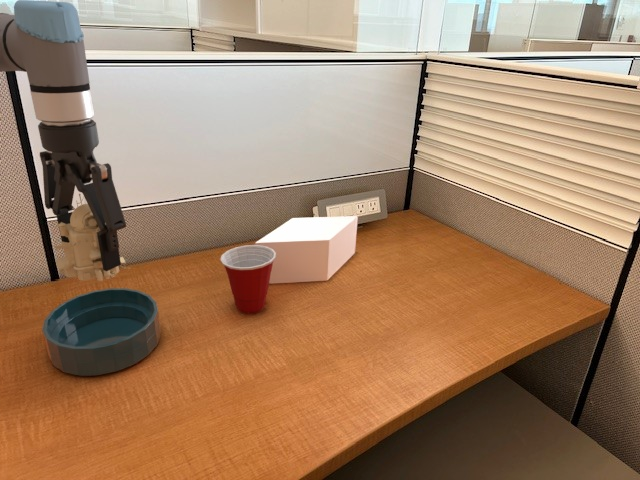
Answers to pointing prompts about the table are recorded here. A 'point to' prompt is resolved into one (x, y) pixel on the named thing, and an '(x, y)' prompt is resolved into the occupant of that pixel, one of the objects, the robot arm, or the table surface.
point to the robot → (83, 247)
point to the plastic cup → (249, 275)
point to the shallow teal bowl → (102, 331)
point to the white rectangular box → (310, 248)
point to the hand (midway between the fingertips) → (92, 258)
